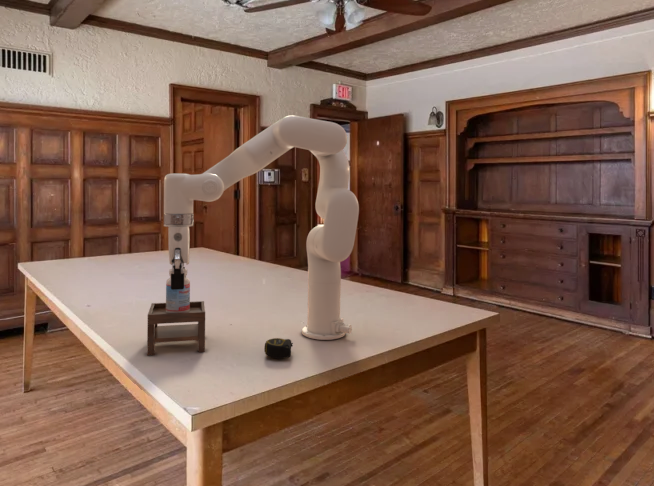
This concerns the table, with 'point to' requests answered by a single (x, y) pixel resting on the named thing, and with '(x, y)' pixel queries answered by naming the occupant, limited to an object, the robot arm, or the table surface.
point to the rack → (176, 331)
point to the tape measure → (278, 348)
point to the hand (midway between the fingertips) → (178, 285)
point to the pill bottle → (178, 296)
